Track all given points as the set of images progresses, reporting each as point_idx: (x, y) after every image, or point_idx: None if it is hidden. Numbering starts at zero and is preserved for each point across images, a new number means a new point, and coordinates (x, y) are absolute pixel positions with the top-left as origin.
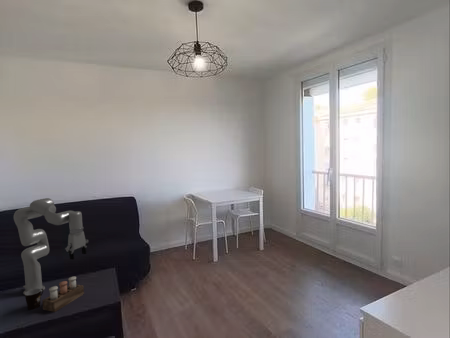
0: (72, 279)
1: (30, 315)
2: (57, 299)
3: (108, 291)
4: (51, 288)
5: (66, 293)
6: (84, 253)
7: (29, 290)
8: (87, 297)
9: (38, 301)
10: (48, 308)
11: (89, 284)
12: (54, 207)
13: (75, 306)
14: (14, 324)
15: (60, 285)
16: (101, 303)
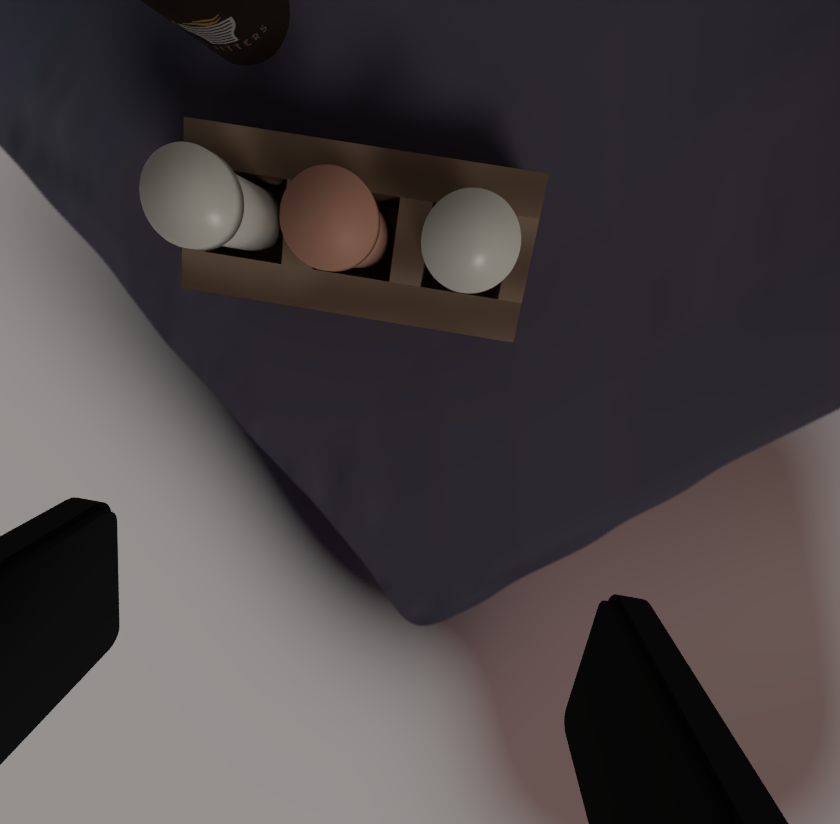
0: (434, 276)
1: (139, 108)
2: (230, 276)
3: (557, 510)
4: (171, 181)
5: (342, 279)
6: (577, 700)
7: None
8: (453, 399)
9: (219, 42)
10: None
11: (695, 254)
12: None
13: (321, 393)
14: (16, 86)
15: (284, 222)
16: (386, 552)
